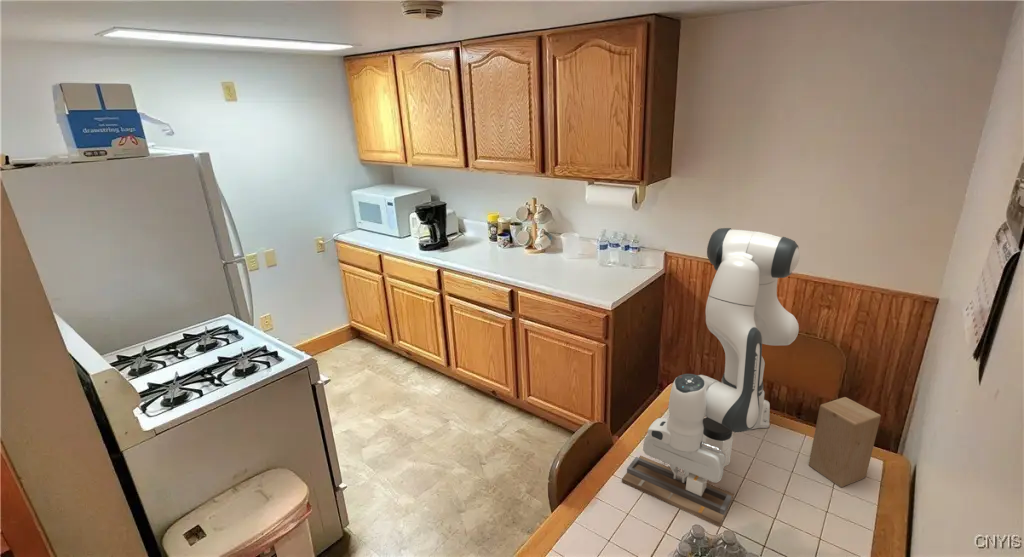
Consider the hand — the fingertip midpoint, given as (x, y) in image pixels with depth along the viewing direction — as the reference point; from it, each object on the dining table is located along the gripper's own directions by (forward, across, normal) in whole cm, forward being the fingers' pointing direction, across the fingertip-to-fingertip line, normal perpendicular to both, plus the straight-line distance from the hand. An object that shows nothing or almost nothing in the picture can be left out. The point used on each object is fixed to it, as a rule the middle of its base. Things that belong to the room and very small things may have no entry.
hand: (679, 479), depth 132 cm
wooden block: (+4, -32, -33) cm, 46 cm away
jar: (+4, -3, -18) cm, 19 cm away
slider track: (+4, +1, 0) cm, 4 cm away
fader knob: (+2, -4, 0) cm, 5 cm away
